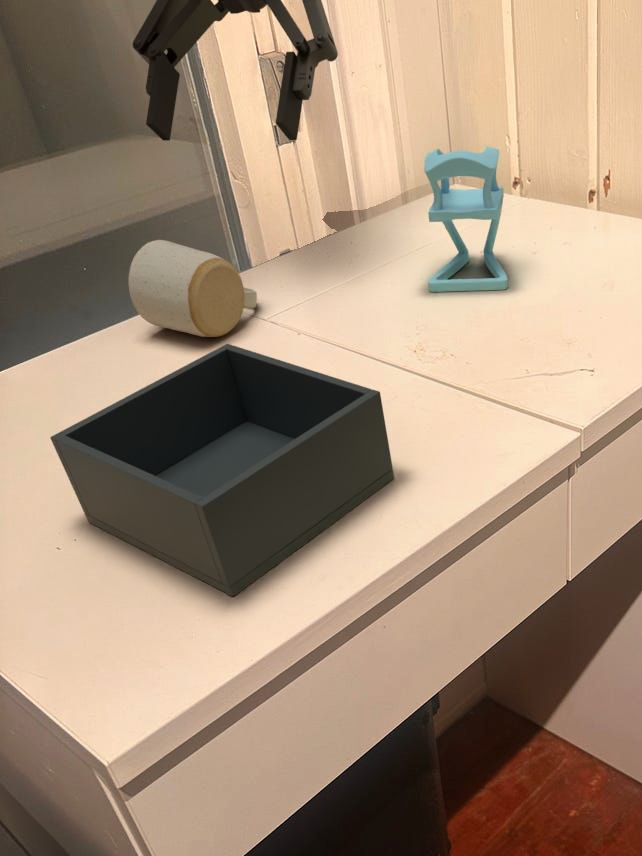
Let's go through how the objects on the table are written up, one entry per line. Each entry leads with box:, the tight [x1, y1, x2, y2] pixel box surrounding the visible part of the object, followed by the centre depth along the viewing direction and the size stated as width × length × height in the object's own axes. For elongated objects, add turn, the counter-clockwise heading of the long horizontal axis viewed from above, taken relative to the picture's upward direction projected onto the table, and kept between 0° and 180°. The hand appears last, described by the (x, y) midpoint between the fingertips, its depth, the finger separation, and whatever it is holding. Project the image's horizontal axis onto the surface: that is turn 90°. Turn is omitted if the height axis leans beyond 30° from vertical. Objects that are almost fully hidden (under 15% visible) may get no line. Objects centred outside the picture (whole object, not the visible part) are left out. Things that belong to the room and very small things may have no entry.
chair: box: [423, 145, 509, 293], centre depth 87 cm, size 8×8×12 cm
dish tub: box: [50, 343, 395, 597], centre depth 62 cm, size 15×15×7 cm
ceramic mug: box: [127, 239, 258, 338], centre depth 85 cm, size 11×8×8 cm
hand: (220, 132), depth 85 cm, fingers open, 13 cm apart
